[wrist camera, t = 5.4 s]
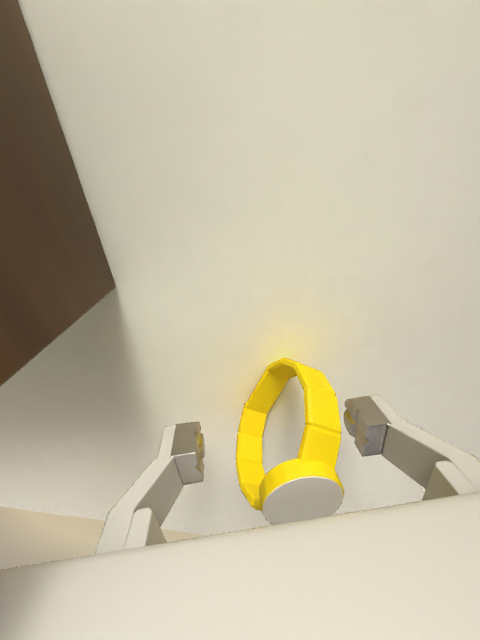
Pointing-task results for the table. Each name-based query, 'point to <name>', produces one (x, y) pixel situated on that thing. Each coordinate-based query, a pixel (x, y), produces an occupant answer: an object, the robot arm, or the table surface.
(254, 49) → the table surface
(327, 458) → the watch
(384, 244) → the table surface
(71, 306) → the box
